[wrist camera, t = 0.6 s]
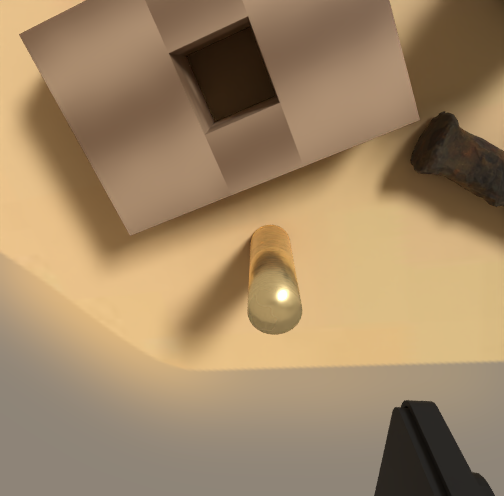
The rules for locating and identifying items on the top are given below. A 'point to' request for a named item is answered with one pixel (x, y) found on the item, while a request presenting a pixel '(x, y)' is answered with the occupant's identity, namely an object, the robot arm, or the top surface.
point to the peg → (272, 282)
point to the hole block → (194, 105)
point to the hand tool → (461, 158)
